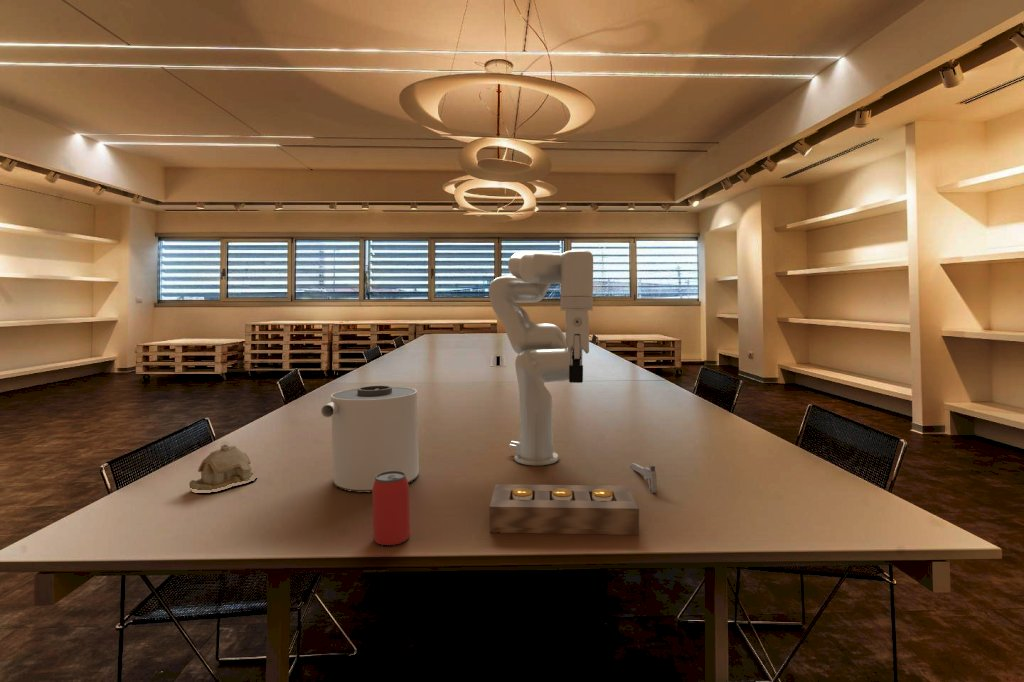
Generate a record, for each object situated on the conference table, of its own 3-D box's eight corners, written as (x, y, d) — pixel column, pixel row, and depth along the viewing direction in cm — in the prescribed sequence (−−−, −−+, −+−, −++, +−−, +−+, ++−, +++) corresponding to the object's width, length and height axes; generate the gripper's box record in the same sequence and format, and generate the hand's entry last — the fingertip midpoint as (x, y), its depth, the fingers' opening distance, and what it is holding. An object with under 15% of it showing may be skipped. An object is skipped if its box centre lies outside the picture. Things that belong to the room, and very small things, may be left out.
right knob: (593, 519, 93) (593, 496, 93) (591, 510, 97) (591, 488, 97) (613, 519, 93) (613, 496, 92) (610, 510, 97) (610, 488, 96)
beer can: (391, 550, 84) (389, 484, 83) (366, 541, 87) (364, 477, 86) (417, 536, 89) (416, 473, 88) (392, 528, 93) (391, 467, 92)
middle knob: (552, 518, 93) (552, 495, 93) (552, 510, 97) (551, 488, 97) (572, 518, 93) (572, 495, 93) (571, 510, 97) (571, 488, 97)
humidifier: (410, 493, 111) (408, 394, 110) (319, 495, 110) (316, 396, 109) (424, 464, 132) (422, 381, 131) (348, 466, 132) (346, 382, 130)
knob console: (489, 532, 90) (489, 506, 90) (495, 507, 102) (495, 484, 102) (638, 534, 88) (638, 508, 88) (627, 508, 100) (627, 485, 100)
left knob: (512, 517, 94) (511, 495, 94) (513, 509, 98) (513, 487, 98) (532, 518, 94) (532, 495, 93) (532, 509, 98) (532, 488, 97)
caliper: (657, 494, 109) (657, 467, 108) (652, 494, 109) (652, 468, 108) (633, 466, 129) (633, 444, 129) (629, 466, 129) (629, 444, 129)
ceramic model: (234, 474, 127) (232, 437, 126) (266, 478, 123) (264, 440, 122) (181, 492, 114) (179, 451, 113) (215, 498, 110) (213, 455, 109)
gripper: (595, 304, 103) (594, 388, 104) (590, 304, 118) (589, 377, 119) (560, 304, 104) (560, 387, 105) (560, 304, 118) (559, 377, 120)
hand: (575, 381), depth 112 cm, fingers closed
